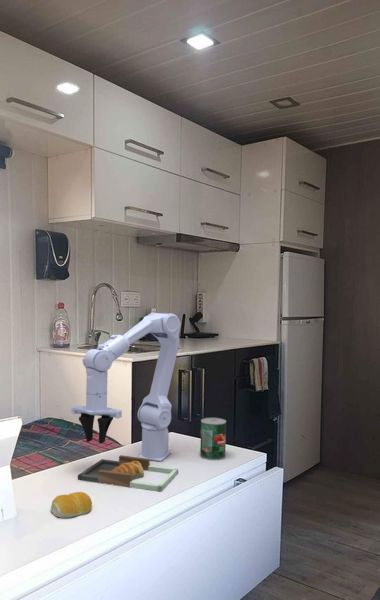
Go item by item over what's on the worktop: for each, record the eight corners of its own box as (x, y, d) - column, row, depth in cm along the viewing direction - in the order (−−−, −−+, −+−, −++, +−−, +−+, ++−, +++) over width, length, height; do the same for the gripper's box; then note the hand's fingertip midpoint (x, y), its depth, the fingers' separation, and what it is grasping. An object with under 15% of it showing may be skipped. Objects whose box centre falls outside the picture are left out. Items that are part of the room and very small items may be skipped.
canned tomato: (225, 460, 149) (225, 424, 149) (199, 459, 150) (199, 423, 150) (225, 452, 157) (226, 418, 157) (201, 451, 158) (201, 417, 158)
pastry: (116, 485, 129) (116, 470, 129) (103, 477, 134) (103, 463, 134) (146, 477, 135) (146, 463, 135) (132, 470, 140) (132, 457, 140)
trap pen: (101, 463, 145) (101, 459, 145) (120, 465, 143) (120, 461, 143) (77, 479, 131) (77, 475, 131) (98, 482, 130) (98, 478, 130)
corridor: (120, 465, 143) (120, 455, 143) (149, 469, 140) (149, 458, 140) (98, 482, 130) (98, 471, 130) (129, 487, 127) (130, 475, 127)
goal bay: (149, 469, 140) (149, 465, 140) (178, 472, 138) (178, 468, 138) (129, 487, 127) (129, 482, 127) (160, 491, 125) (161, 486, 125)
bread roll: (98, 512, 113) (98, 494, 113) (61, 522, 107) (61, 504, 107) (81, 499, 119) (81, 483, 119) (45, 509, 113) (45, 491, 113)
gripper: (66, 393, 136) (65, 442, 136) (114, 397, 132) (113, 448, 132) (78, 388, 142) (77, 436, 142) (125, 392, 138) (124, 441, 138)
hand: (95, 441), depth 137 cm, fingers open, 3 cm apart
